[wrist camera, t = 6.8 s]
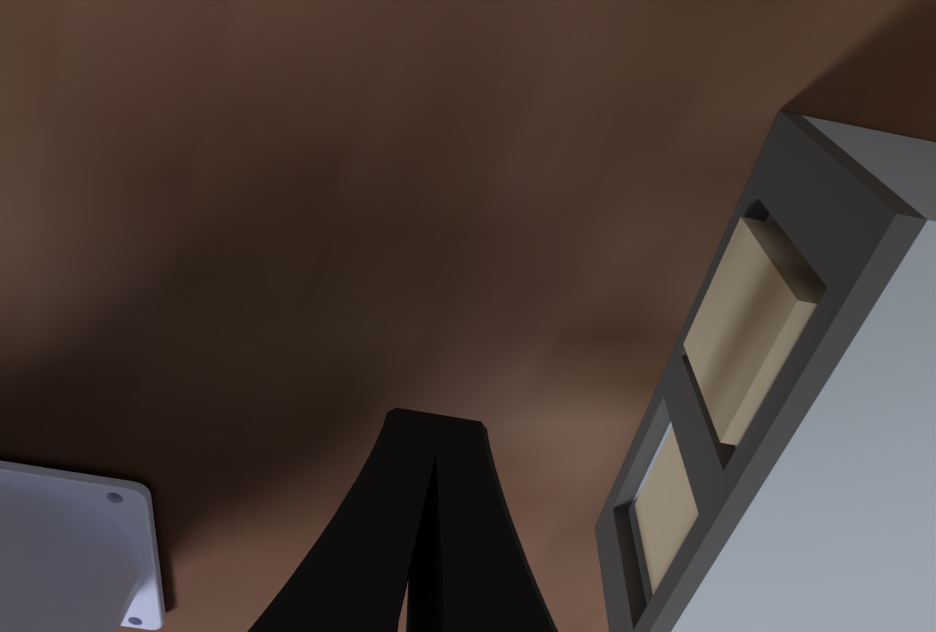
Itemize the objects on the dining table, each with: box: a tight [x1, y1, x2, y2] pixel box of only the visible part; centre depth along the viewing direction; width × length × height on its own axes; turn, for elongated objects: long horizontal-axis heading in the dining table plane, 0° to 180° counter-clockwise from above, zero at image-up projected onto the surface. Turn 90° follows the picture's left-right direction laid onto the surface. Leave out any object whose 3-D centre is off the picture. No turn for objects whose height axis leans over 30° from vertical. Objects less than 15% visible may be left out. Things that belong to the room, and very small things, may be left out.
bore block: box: [595, 111, 936, 632], centre depth 16 cm, size 10×14×5 cm
